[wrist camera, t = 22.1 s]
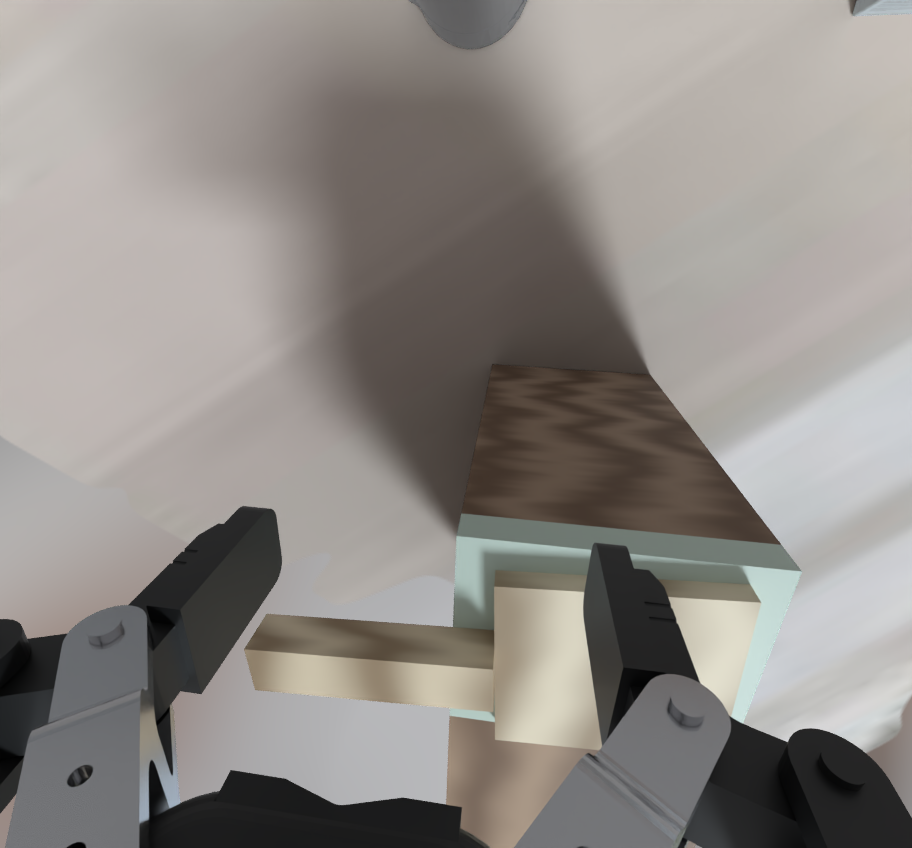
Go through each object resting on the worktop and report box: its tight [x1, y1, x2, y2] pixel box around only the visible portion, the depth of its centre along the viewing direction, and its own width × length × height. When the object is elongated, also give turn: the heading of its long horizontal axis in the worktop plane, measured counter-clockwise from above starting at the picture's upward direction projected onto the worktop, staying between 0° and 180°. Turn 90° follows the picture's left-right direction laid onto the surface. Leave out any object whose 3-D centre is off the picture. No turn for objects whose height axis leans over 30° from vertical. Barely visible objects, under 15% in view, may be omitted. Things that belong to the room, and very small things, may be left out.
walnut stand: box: [446, 364, 802, 848], centre depth 42 cm, size 16×26×30 cm, turn 178°
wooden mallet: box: [244, 570, 761, 750], centre depth 26 cm, size 25×11×2 cm, turn 92°
